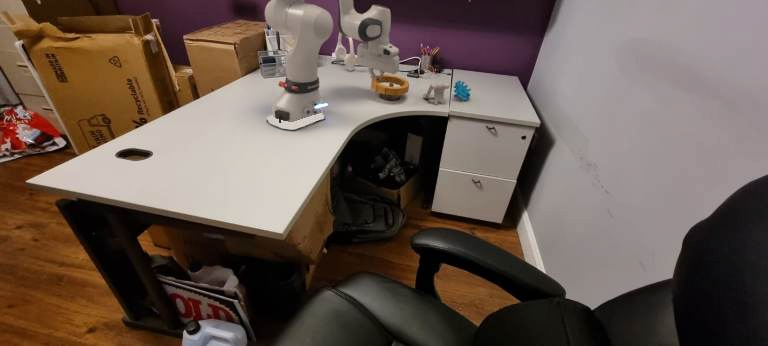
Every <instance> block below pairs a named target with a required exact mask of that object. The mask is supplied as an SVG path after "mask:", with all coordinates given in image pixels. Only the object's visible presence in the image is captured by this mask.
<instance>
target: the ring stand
mask: <svg viewBox="0 0 768 346" xmlns="http://www.w3.org/2000/svg"><path fill="white" fill-rule="evenodd" d="M394 85H395V84H394V83H388V86H389V87H395V86H394ZM379 98H380V99H382V100H384V101H388V102H397V101H400V100H401V99H402V95H386V94H382V93H379Z"/></svg>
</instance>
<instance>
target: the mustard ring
mask: <svg viewBox="0 0 768 346" xmlns="http://www.w3.org/2000/svg"><path fill="white" fill-rule="evenodd" d="M379 75H380V74H377V75H375V76H374V77H372V78H371V83H370V88H371V89H372V90H373V91H375V92H376V93H379V94H380V93H382V94H386V95H401V96H403V95H405V94H407V93H408V92H409V89H410V82H409V81H408V80H406V79H405V78H403V77H400V76H397V75H394V74H383V75H382V79H381V80H377V76H379ZM383 83H384V84H385V83H387V84H389V83H393V84H394V85H396V86H393V87H389V85H384V84H383ZM397 85H398V86H397Z"/></svg>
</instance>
